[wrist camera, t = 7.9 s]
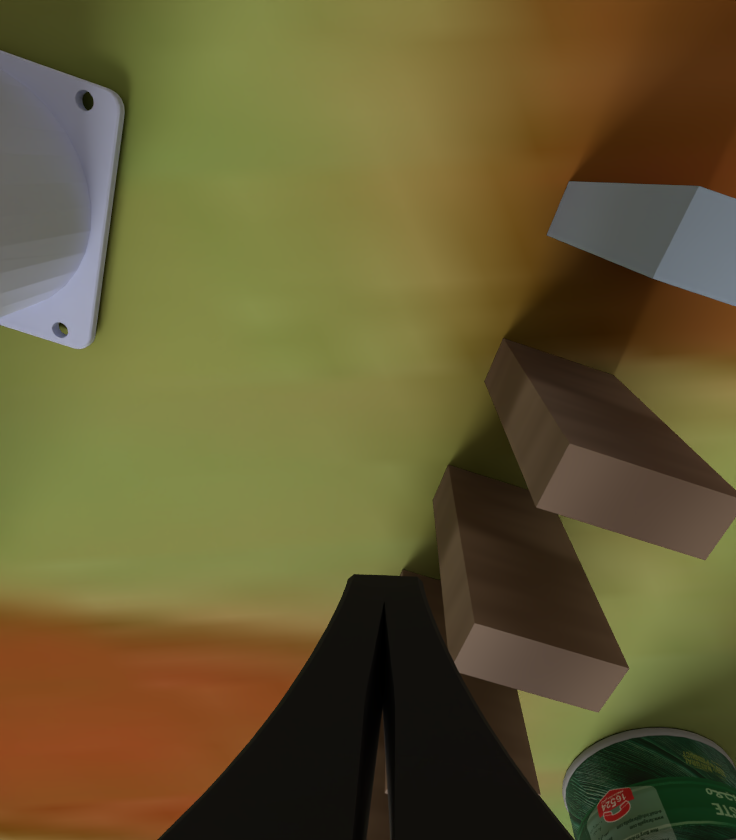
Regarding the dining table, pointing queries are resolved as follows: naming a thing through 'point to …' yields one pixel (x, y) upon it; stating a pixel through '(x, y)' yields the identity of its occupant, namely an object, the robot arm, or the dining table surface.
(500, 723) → the domino
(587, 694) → the domino
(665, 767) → the canned tomato
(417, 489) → the dining table surface
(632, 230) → the domino
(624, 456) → the domino
